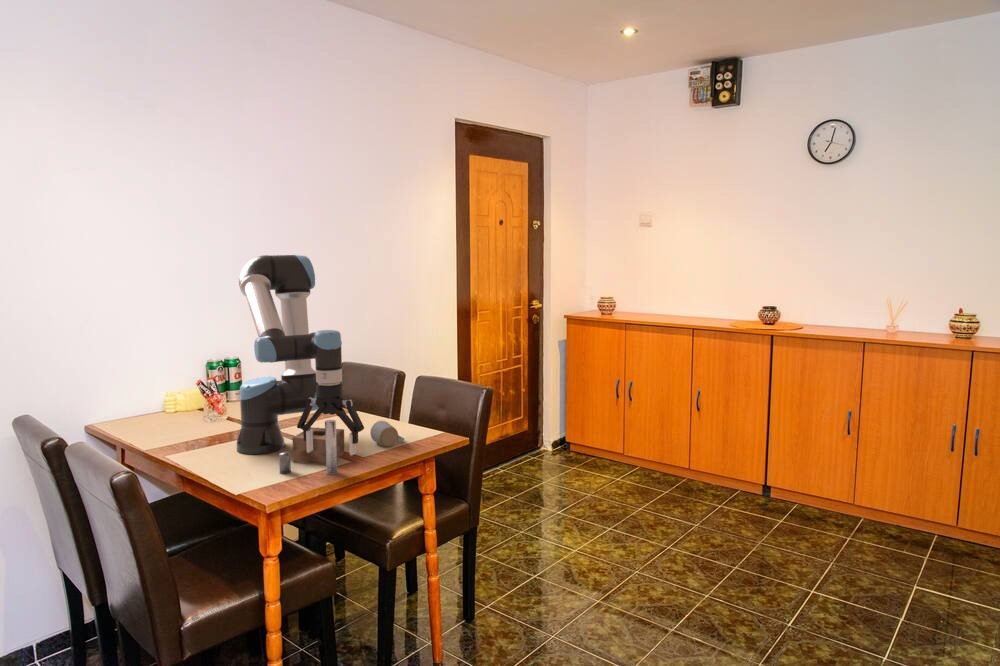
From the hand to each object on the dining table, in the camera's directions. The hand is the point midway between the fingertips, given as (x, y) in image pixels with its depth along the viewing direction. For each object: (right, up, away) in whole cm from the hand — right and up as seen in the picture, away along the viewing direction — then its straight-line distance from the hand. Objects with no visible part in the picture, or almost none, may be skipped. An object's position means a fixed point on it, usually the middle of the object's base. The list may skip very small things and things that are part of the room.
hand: (331, 452), depth 200 cm
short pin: (-14, -6, +1) cm, 15 cm away
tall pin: (0, -6, +1) cm, 6 cm away
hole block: (-8, -4, +15) cm, 18 cm away
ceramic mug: (+12, -3, +30) cm, 33 cm away
